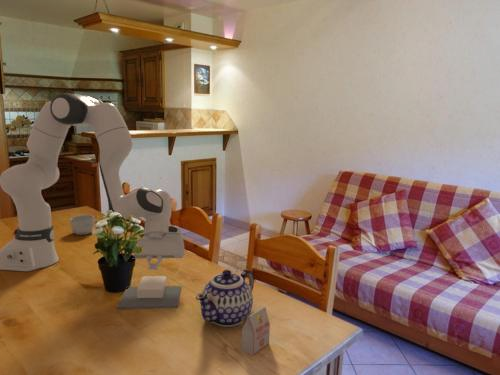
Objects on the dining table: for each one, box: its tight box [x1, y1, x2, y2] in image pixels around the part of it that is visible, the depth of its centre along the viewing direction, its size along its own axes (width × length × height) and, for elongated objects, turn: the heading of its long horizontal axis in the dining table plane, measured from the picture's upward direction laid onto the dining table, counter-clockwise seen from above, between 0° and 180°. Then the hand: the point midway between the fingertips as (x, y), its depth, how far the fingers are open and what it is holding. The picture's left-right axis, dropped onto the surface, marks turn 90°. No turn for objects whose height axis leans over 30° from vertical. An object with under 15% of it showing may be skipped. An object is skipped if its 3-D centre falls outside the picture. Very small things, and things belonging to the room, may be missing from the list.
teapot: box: [195, 268, 255, 328], centre depth 114 cm, size 25×15×15 cm, turn 141°
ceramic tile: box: [137, 275, 168, 298], centre depth 129 cm, size 8×3×10 cm
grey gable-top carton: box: [241, 306, 271, 357], centre depth 101 cm, size 4×7×10 cm, turn 140°
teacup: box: [69, 213, 96, 236], centre depth 191 cm, size 14×11×8 cm
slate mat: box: [116, 285, 182, 310], centre depth 127 cm, size 18×14×1 cm
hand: (153, 269), depth 131 cm, fingers closed
